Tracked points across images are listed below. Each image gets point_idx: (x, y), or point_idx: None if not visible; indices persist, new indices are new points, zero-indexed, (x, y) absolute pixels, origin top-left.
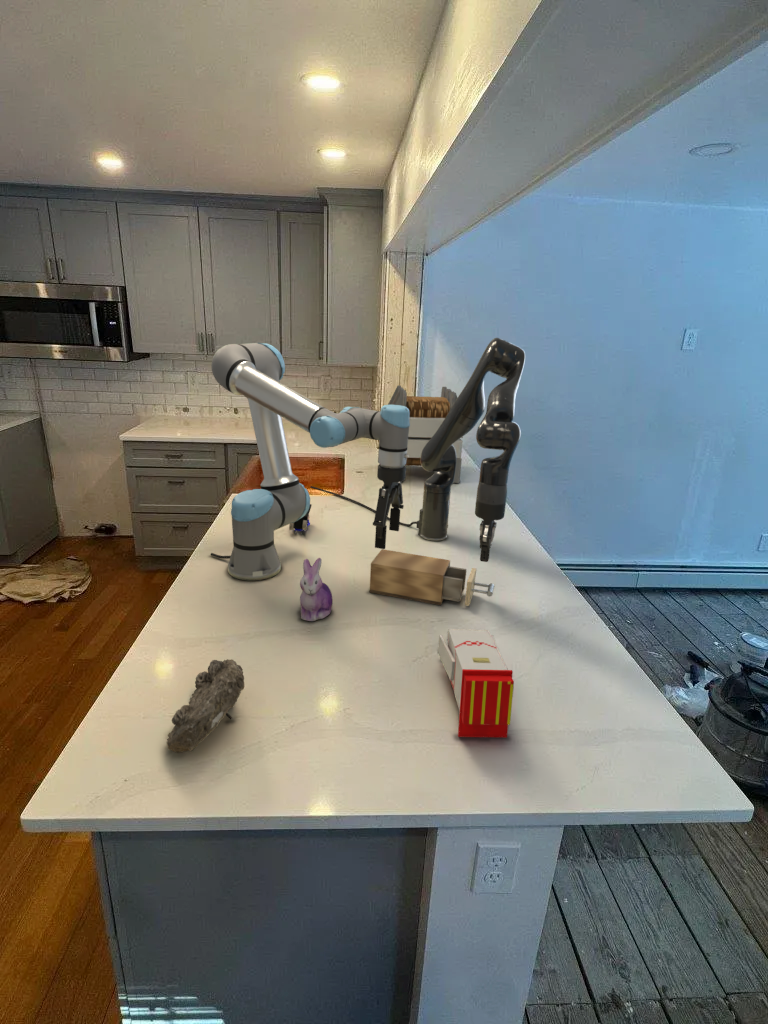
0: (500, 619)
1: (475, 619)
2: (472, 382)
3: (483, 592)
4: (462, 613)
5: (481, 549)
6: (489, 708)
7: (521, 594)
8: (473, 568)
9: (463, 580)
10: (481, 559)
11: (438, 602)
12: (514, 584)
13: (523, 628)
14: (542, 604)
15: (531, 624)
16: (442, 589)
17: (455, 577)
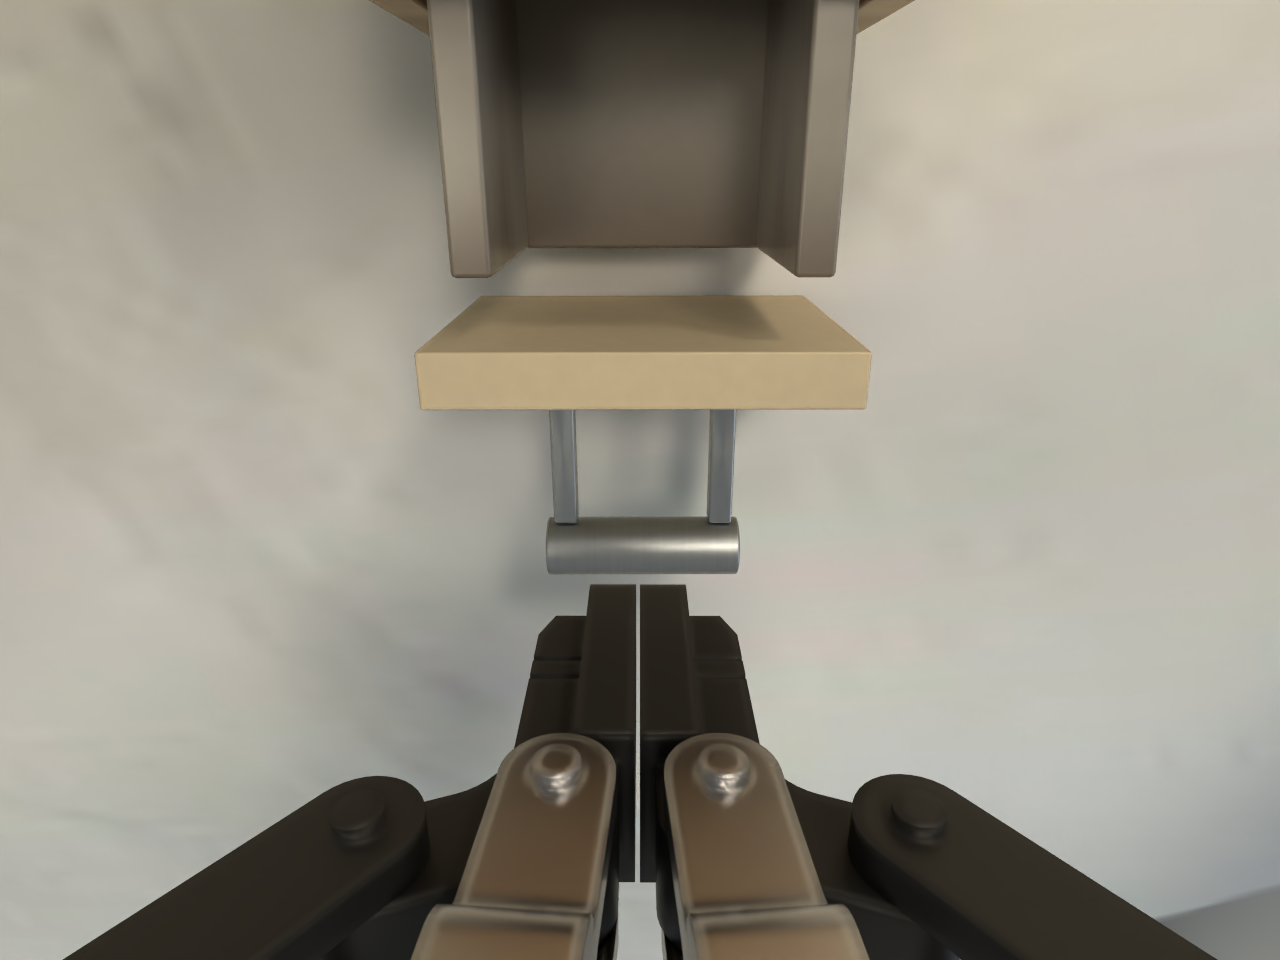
0: (444, 585)
1: (349, 410)
2: None
3: (555, 489)
4: (395, 289)
5: (577, 722)
6: None
7: (908, 689)
8: (854, 372)
9: (769, 239)
10: (547, 626)
11: None
12: (1080, 632)
13: (394, 729)
14: None
15: (473, 769)
16: (421, 18)
17: (778, 129)
